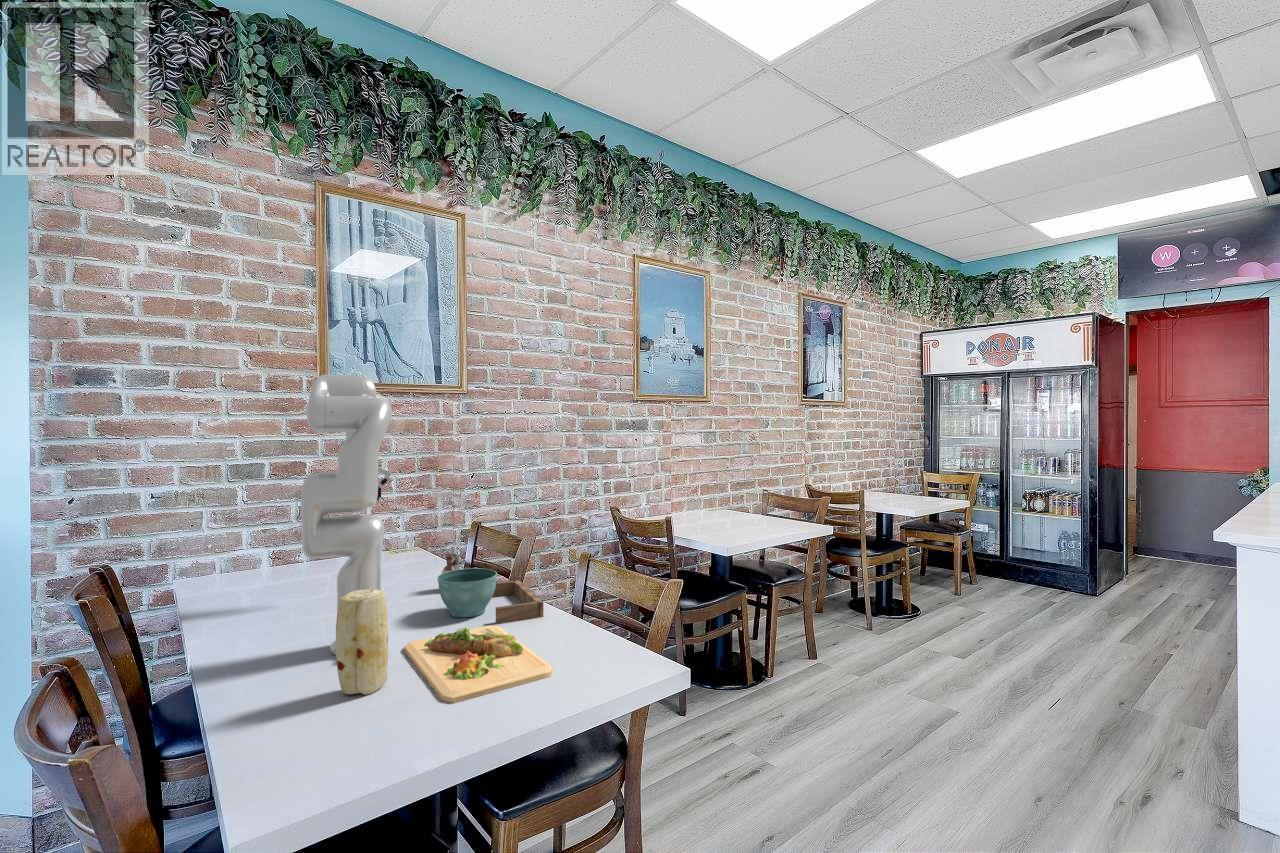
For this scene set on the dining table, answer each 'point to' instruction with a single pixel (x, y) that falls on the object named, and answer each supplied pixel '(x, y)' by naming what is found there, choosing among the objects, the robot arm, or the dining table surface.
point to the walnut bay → (526, 610)
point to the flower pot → (467, 590)
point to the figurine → (452, 562)
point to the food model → (362, 641)
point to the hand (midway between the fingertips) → (360, 501)
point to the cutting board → (475, 662)
